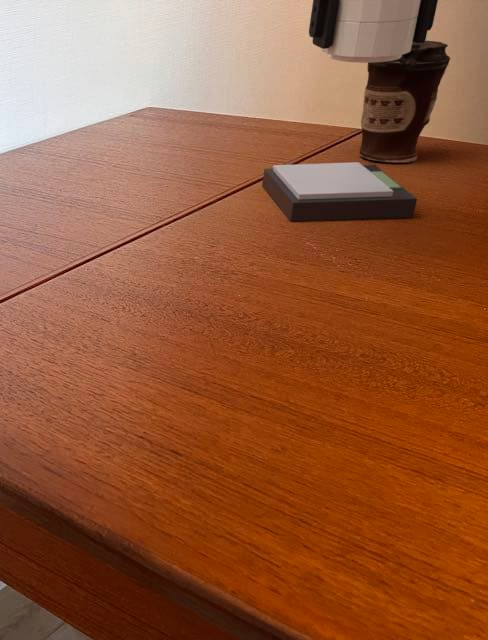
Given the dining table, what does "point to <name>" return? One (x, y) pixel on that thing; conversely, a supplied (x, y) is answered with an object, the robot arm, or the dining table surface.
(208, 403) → the dining table surface
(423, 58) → the coffee cup
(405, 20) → the white handleless cup
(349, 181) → the scale
